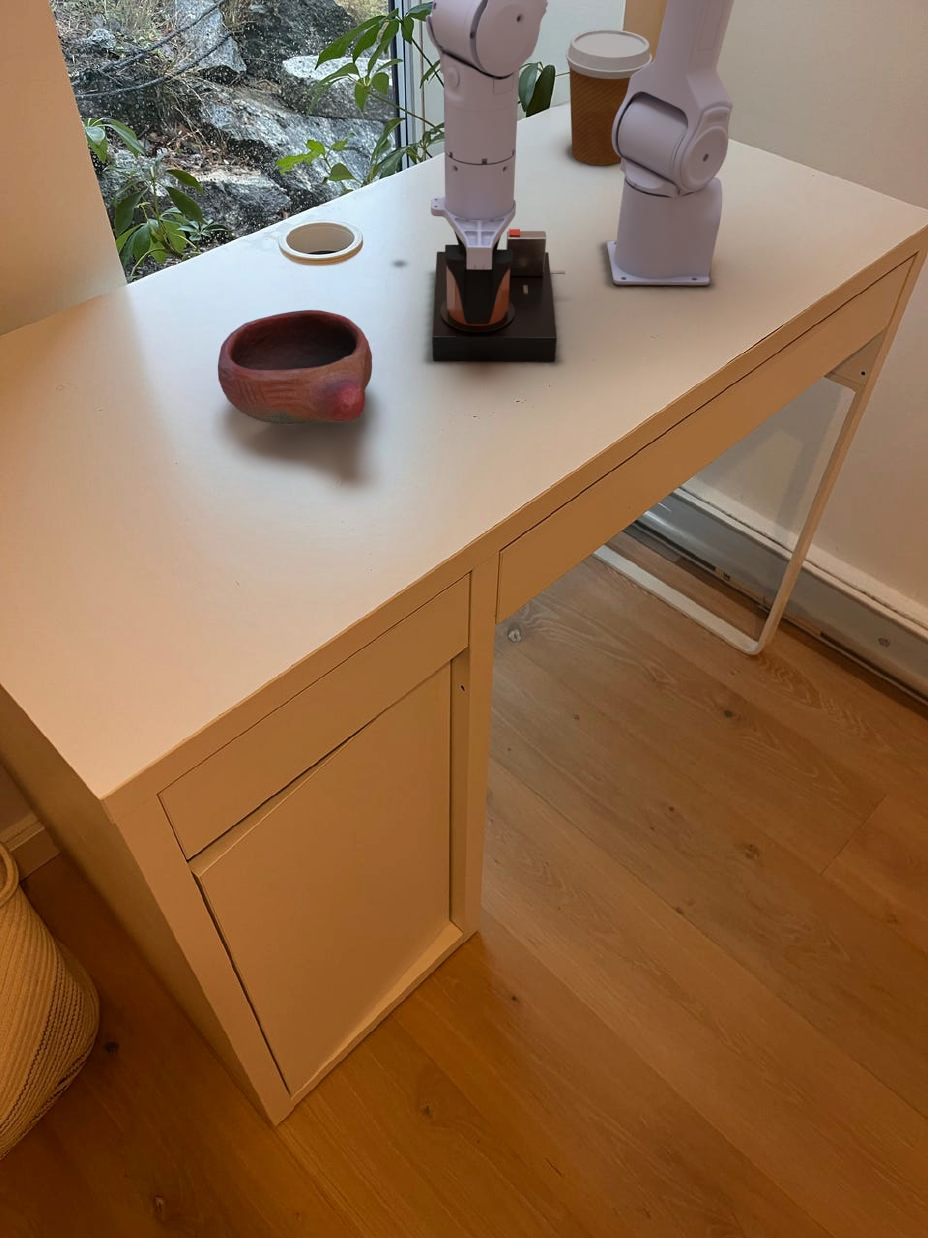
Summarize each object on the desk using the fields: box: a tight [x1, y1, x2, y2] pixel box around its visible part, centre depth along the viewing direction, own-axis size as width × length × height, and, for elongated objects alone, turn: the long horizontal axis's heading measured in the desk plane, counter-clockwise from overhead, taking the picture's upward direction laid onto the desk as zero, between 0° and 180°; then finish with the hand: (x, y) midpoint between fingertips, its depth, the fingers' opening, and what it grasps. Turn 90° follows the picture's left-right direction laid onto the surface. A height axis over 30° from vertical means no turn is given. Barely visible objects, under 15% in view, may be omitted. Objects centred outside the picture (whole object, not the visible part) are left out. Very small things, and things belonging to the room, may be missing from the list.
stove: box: [431, 251, 566, 363], centre depth 92 cm, size 12×15×3 cm
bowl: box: [217, 309, 373, 425], centre depth 79 cm, size 16×13×8 cm
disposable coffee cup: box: [565, 28, 653, 166], centre depth 111 cm, size 10×10×12 cm
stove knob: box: [505, 228, 547, 276], centre depth 91 cm, size 4×1×4 cm, turn 90°
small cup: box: [447, 267, 510, 326], centre depth 87 cm, size 6×6×4 cm
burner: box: [440, 299, 515, 333], centre depth 88 cm, size 7×7×1 cm
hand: (477, 303), depth 88 cm, fingers closed on small cup, 5 cm apart
